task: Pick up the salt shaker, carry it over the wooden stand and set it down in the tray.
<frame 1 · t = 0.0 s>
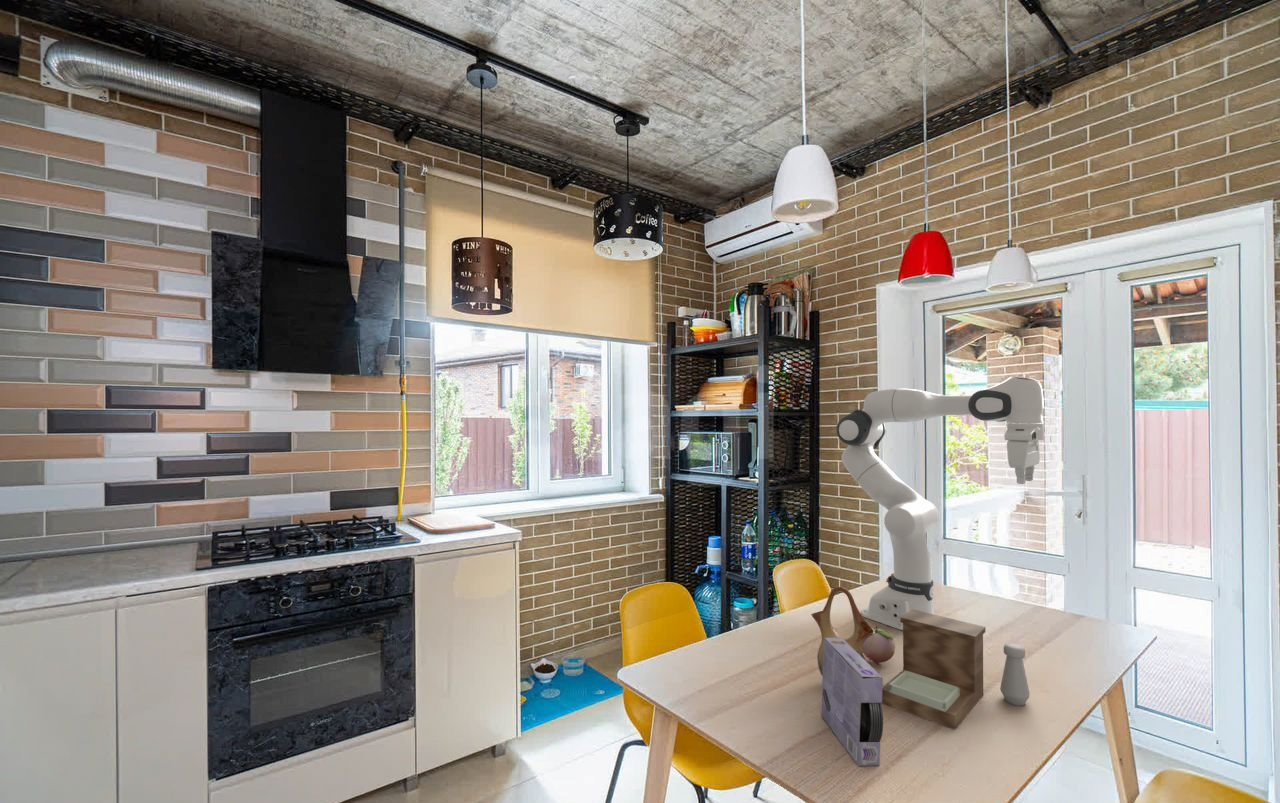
hand: (1025, 482, 160), 48 cm above the table, fingers open, 8 cm apart
decorative fruit: (877, 663, 152), on the table
ceramic vessel: (841, 690, 137), on the table
wooden stand: (936, 694, 135), on the table
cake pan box: (850, 741, 116), on the table
salt shaker: (1014, 702, 132), on the table
tray: (924, 693, 130), resting on wooden stand
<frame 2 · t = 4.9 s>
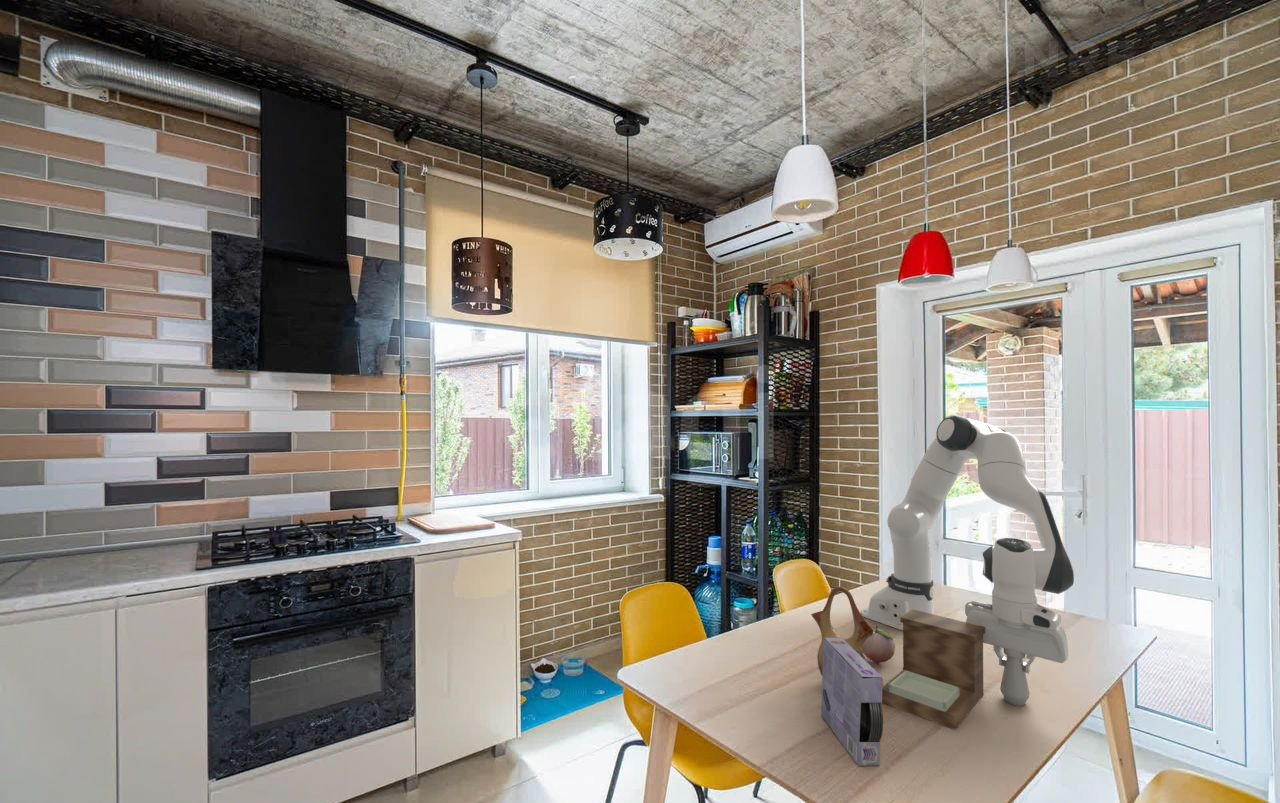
hand: (1014, 668, 132), 8 cm above the table, fingers closed on salt shaker, 3 cm apart
salt shaker: (1014, 702, 132), on the table, touching gripper
everything else where it was.
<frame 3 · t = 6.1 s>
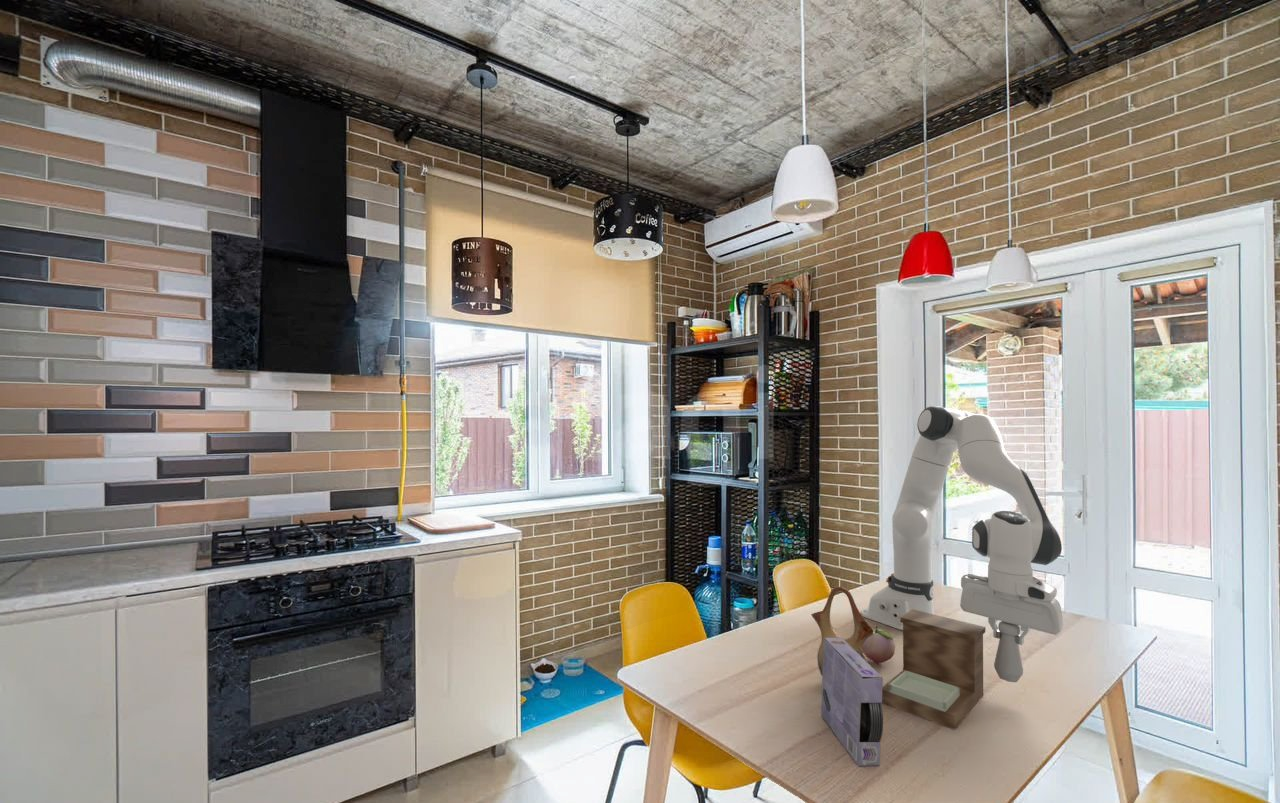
hand: (1008, 640, 133), 14 cm above the table, fingers closed on salt shaker, 3 cm apart
salt shaker: (1008, 678, 133), point 5 cm above the table, touching gripper
everything else where it was.
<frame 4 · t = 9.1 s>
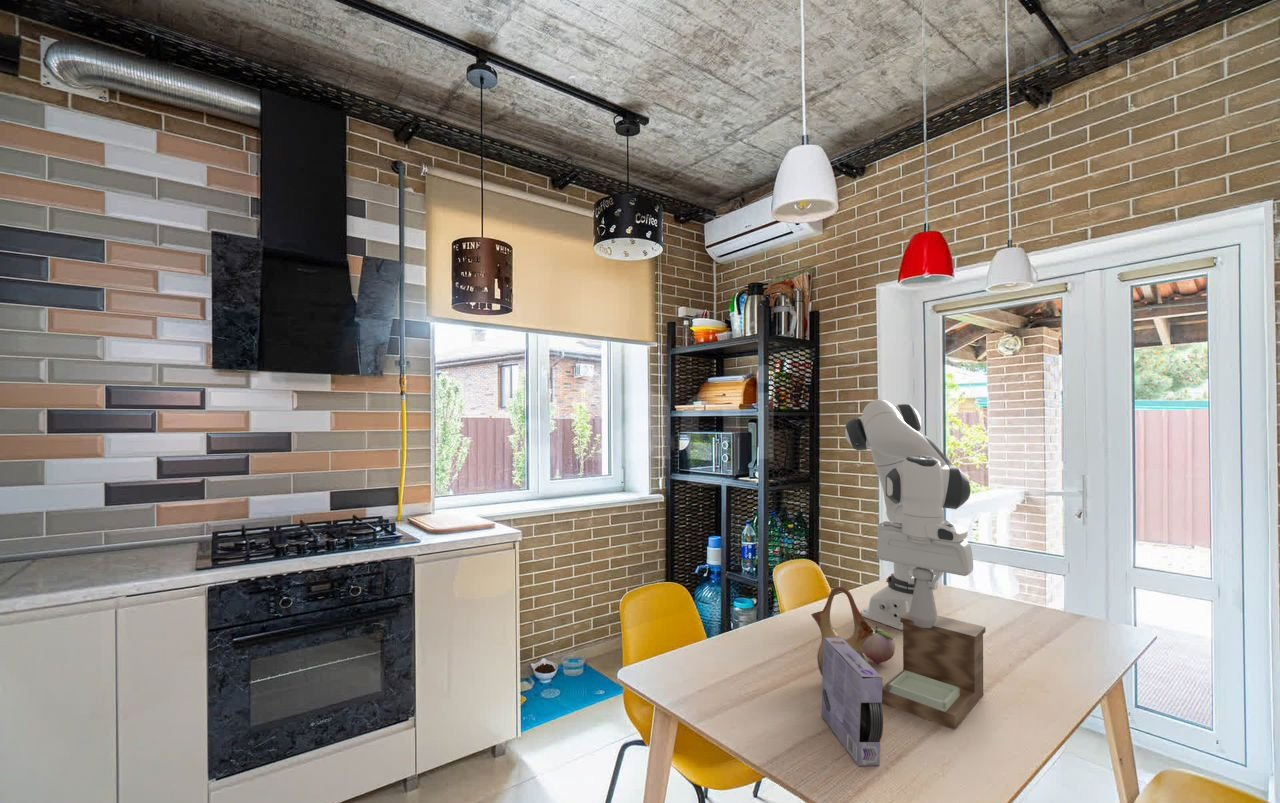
hand: (922, 586, 130), 28 cm above the table, fingers closed on salt shaker, 3 cm apart
salt shaker: (923, 625, 130), point 19 cm above the table, touching gripper
everything else where it was.
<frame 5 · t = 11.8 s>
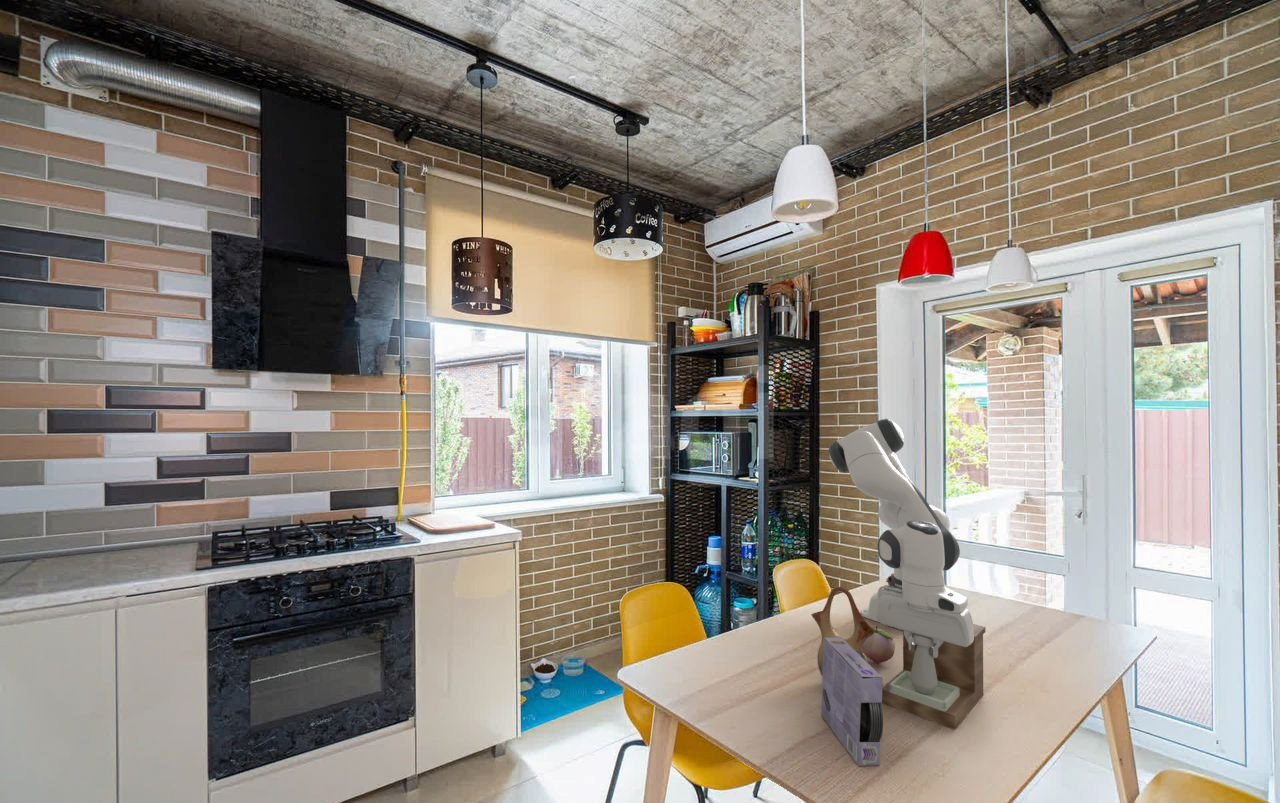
hand: (923, 653, 130), 12 cm above the table, fingers closed on salt shaker, 3 cm apart
salt shaker: (923, 691, 130), point 3 cm above the table, touching gripper, tray
everything else where it was.
when the fingers open (12 cm above the table, at t = 12.6 s): salt shaker stays where it is, resting on tray.
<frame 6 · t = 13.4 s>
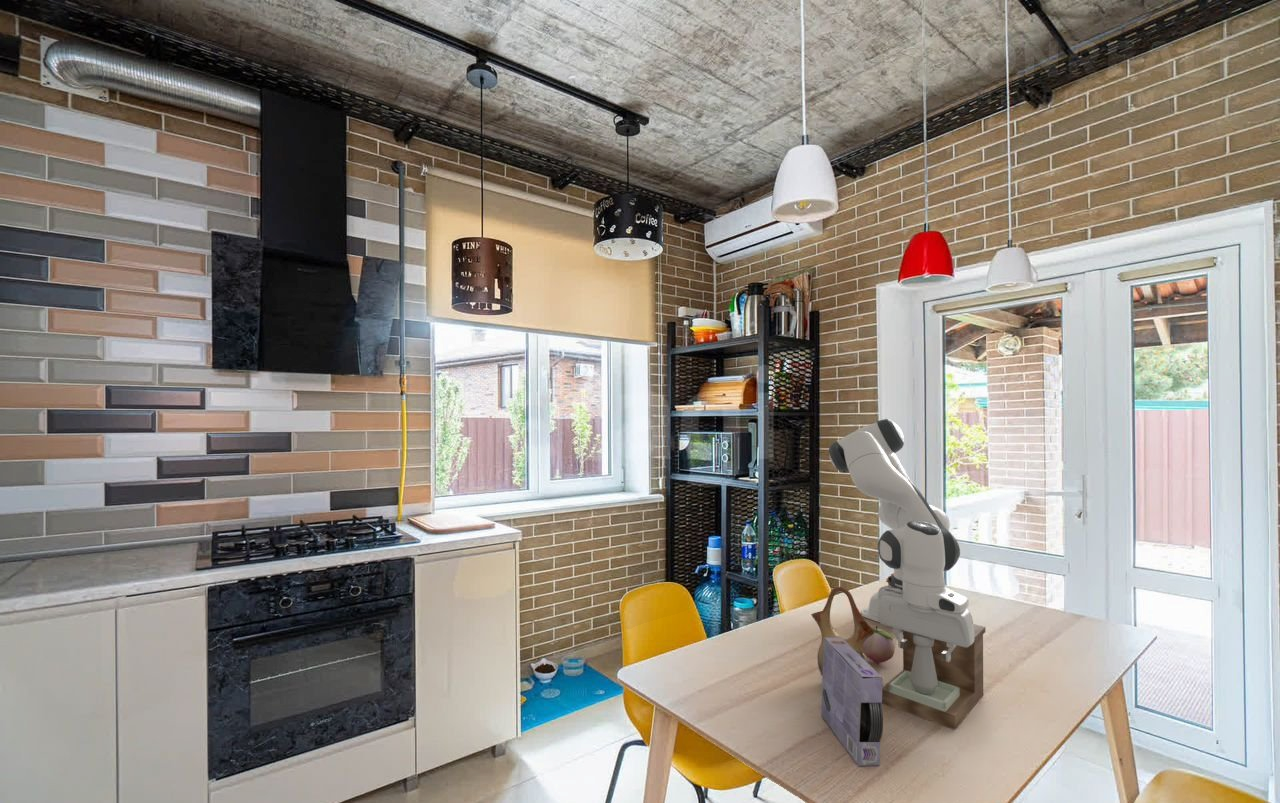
hand: (923, 654, 130), 12 cm above the table, fingers open, 8 cm apart
salt shaker: (923, 691, 130), point 3 cm above the table, touching tray
everything else where it was.
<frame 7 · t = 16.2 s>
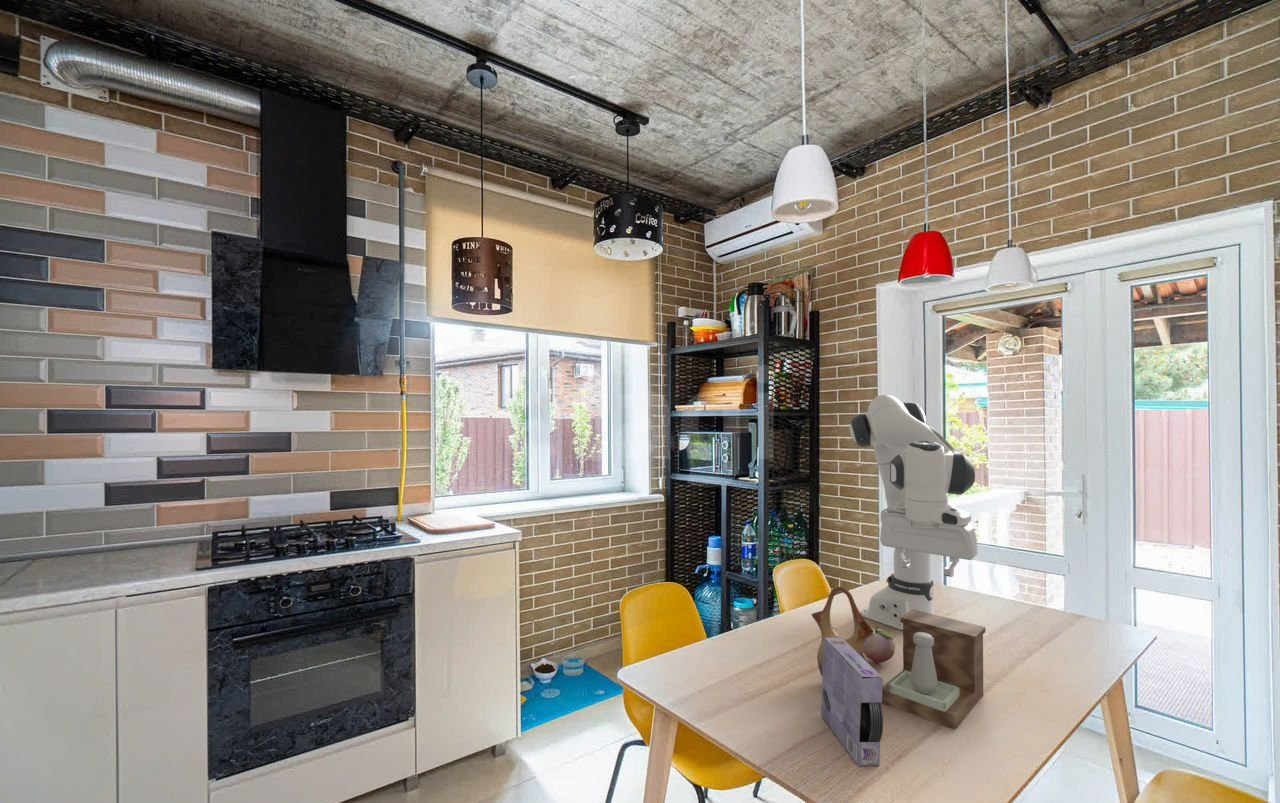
hand: (926, 571, 130), 31 cm above the table, fingers open, 8 cm apart
nothing on the table moved.
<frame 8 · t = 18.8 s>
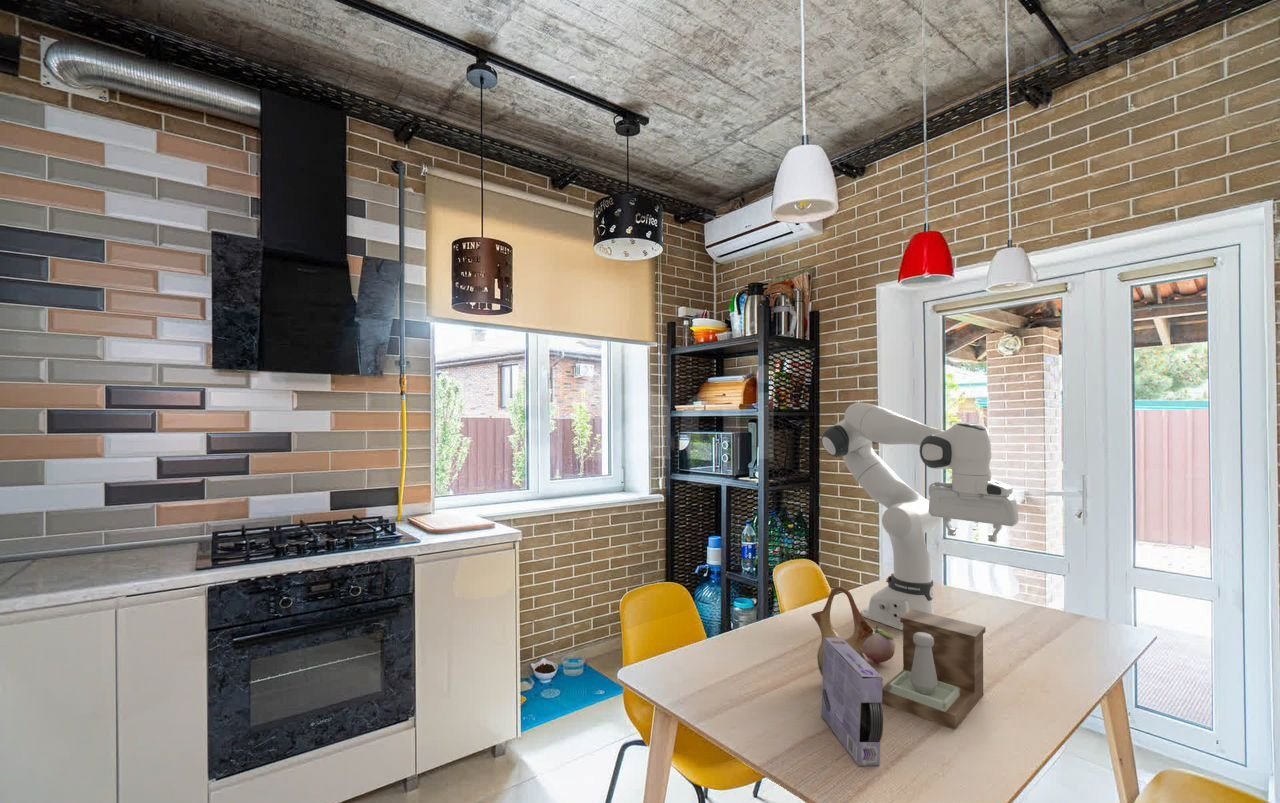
hand: (971, 538, 146), 35 cm above the table, fingers open, 8 cm apart
nothing on the table moved.
at the end: salt shaker inside the target area on the tray (0.1 cm from its centre), point 0.4 cm above the tray's base; salt shaker tilted 0°; the gripper is holding nothing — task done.
